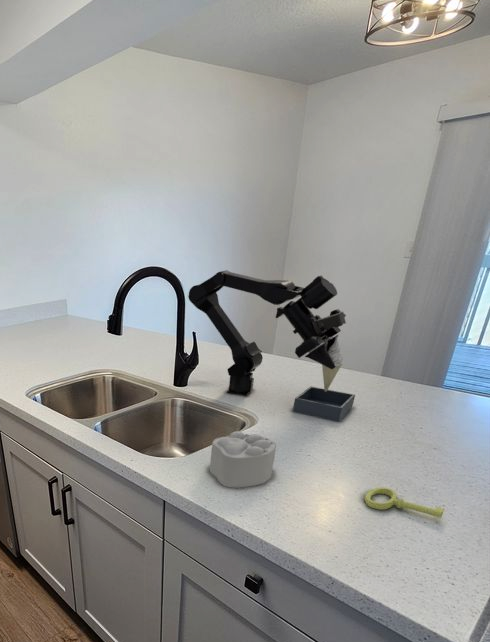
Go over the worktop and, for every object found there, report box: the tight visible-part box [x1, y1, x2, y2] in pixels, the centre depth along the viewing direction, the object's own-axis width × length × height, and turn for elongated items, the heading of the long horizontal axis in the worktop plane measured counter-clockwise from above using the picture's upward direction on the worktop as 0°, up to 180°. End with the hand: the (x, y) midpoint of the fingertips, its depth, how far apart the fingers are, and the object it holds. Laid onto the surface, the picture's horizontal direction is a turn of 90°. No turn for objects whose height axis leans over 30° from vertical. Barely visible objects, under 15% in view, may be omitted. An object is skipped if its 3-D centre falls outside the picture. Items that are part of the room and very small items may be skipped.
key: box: [364, 487, 445, 519], centre depth 83 cm, size 7×12×2 cm, turn 60°
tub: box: [292, 385, 356, 422], centre depth 124 cm, size 12×12×4 cm
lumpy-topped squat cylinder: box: [209, 430, 277, 489], centre depth 95 cm, size 10×13×9 cm
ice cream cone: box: [321, 338, 344, 392], centre depth 119 cm, size 5×5×15 cm
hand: (336, 365), depth 118 cm, fingers closed on ice cream cone, 5 cm apart
